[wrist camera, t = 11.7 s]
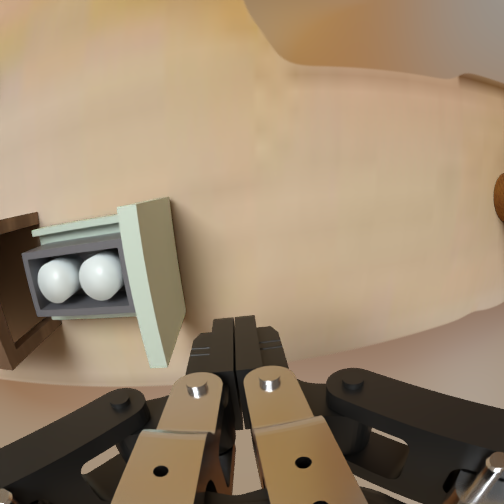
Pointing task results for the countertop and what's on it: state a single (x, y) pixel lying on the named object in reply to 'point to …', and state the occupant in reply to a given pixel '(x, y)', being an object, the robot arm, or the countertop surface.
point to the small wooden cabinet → (3, 348)
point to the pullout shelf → (140, 269)
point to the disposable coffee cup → (499, 197)
